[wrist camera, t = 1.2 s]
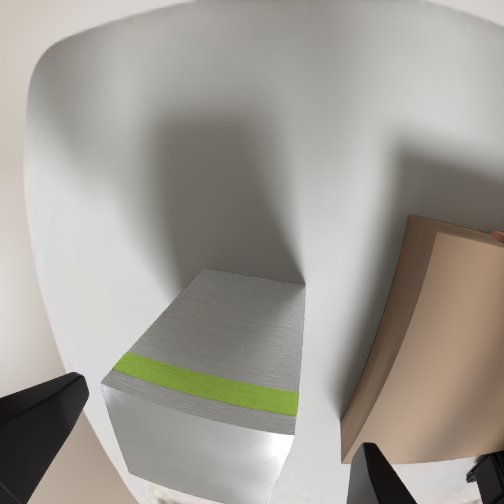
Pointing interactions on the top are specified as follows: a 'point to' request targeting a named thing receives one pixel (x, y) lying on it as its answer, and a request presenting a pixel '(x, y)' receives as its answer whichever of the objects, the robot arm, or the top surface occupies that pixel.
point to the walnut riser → (436, 352)
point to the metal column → (213, 388)
